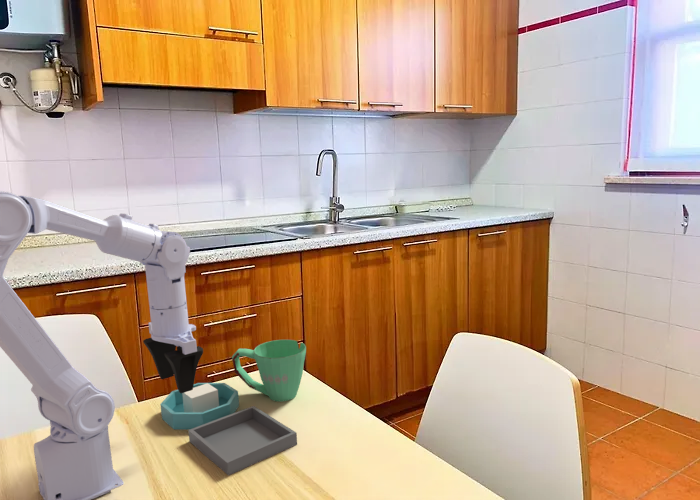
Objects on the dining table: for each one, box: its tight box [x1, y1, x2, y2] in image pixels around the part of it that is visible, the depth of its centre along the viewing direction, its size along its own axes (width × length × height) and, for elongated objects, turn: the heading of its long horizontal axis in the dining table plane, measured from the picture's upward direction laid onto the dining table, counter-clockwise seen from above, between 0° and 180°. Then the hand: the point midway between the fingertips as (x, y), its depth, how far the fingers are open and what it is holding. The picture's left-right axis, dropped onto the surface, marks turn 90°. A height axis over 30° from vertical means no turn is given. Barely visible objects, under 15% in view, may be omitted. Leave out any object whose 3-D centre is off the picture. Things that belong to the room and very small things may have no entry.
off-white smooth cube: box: [182, 382, 219, 412], centre depth 99 cm, size 5×4×4 cm
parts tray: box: [187, 405, 298, 477], centre depth 88 cm, size 12×13×2 cm
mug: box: [231, 339, 307, 403], centre depth 105 cm, size 15×10×10 cm
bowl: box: [160, 382, 240, 431], centre depth 99 cm, size 13×13×3 cm
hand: (176, 383), depth 91 cm, fingers open, 7 cm apart
